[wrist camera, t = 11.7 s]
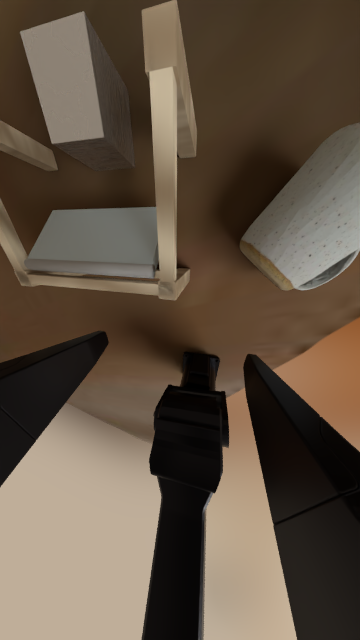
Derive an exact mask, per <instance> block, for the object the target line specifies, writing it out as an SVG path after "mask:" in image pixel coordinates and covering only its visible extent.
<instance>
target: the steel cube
mask: <svg viewBox="0 0 360 640" xmlns="http://www.w3.org/2000/svg"><path fill="white" fill-rule="evenodd" d="M20 34H21V37H22V41H23V44H24V48H25V51H26V55H27V58H28V62H29V65H30V69H31V72H32V76H33V79H34V83H35V86H36V90H37V93H38V97H39V100H40V104H41V107H42V111H43V114H44V118H45V121H46V125H47V128H48V132H49V135H50V139H51V142H52V144H53V145H55V146H56V147H58V148H59V149H61V150H63V151H64V152H66V153H67V154H69V155H71V156H72V157H74V158H75V159H77V160H79V161H80V162H82V163H83V164H85V165H87V166H88V167H90V168H91V169H93V170H95V171H102V170H115V169H127V168H135V159H134V149H133V138H132V128H131V117H130V107H129V96H128V90H127V88H126V86H125V84H124V82H123V81H122V79H121V77H120V75H119V73H118V72H117V70H116V68H115V66H114V64H113V63H112V61H111V59H110V57H109V55H108V54H107V52H106V50H105V48H104V46H103V45H102V43H101V41H100V39H99V37H98V36H97V34H96V32H95V30H94V29H93V27H92V25H91V23H90V21H89V20H88V18H87V16H86V14H85V12H84V11H83V12H80V13H77V14H74V15H71V16H68V17H64V18H61V19H58V20H55V21H52V22H49V23H46V24H43V25H40V26H36V27H33V28H30V29H27V30H24V31H21V32H20Z"/></svg>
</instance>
